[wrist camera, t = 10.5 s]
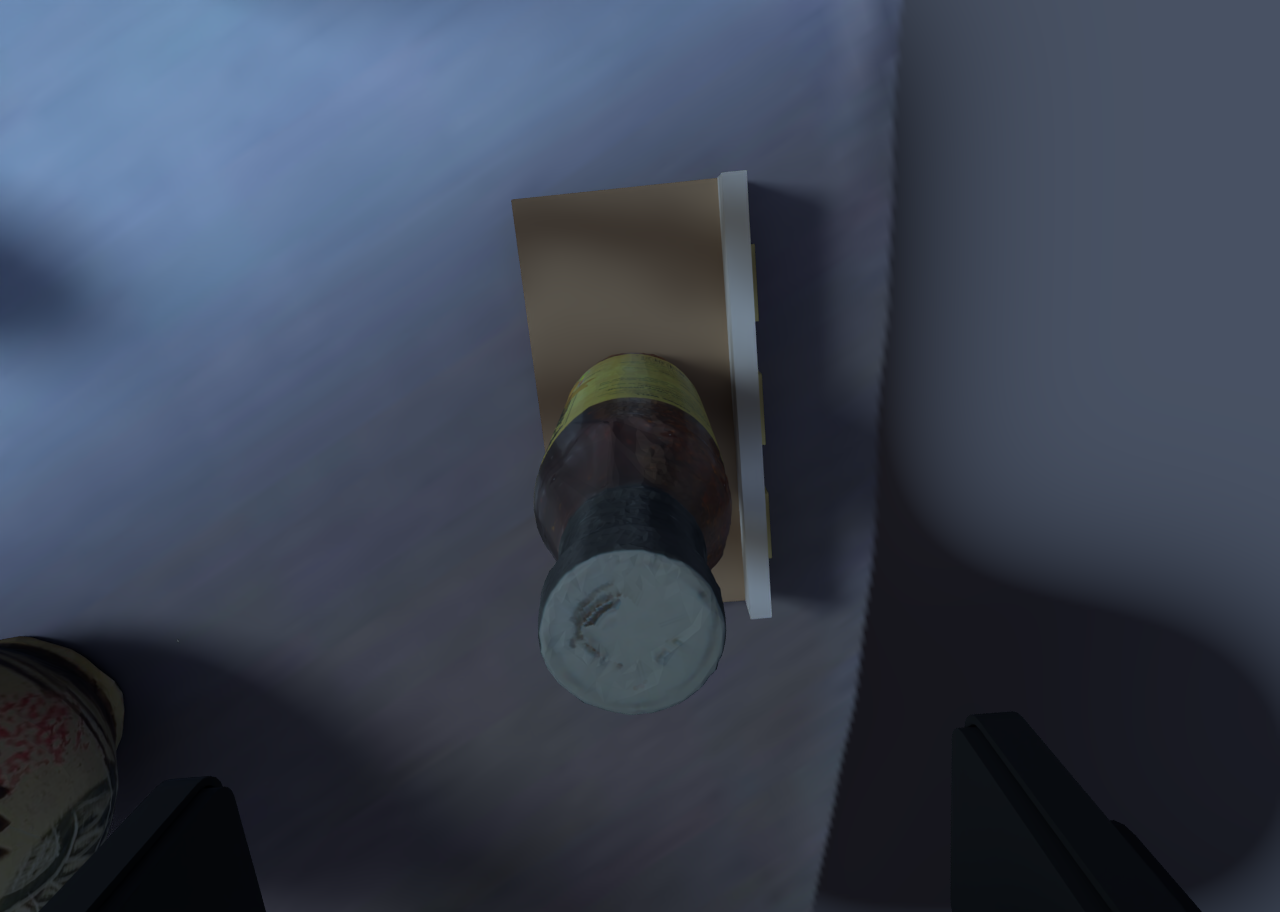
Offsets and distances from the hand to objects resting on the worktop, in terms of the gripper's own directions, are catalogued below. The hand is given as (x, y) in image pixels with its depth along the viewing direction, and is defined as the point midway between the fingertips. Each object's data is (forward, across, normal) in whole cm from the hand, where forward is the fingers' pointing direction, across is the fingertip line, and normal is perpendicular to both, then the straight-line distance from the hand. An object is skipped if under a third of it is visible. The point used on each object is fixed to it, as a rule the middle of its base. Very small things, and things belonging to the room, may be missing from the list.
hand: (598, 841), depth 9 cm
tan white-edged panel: (+27, -1, -1) cm, 27 cm away
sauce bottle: (+26, 0, 0) cm, 26 cm away
